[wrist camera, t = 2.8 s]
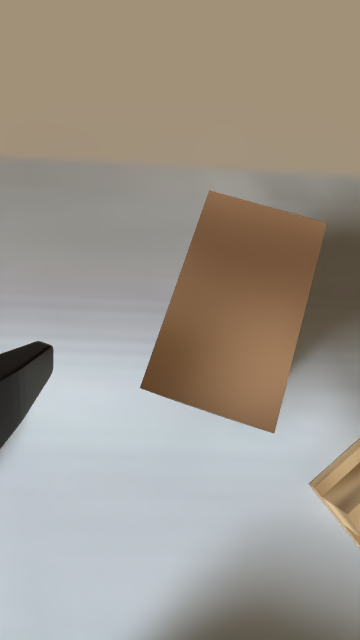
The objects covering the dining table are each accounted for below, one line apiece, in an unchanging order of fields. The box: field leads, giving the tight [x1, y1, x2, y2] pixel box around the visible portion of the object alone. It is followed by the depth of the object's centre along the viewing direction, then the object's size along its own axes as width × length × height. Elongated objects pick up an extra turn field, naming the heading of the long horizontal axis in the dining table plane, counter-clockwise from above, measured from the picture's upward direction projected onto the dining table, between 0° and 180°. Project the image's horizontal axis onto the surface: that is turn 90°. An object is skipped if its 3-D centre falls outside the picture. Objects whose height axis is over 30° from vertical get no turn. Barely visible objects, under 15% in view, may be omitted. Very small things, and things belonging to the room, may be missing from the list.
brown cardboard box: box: [140, 191, 327, 433], centre depth 14 cm, size 6×4×10 cm, turn 162°
